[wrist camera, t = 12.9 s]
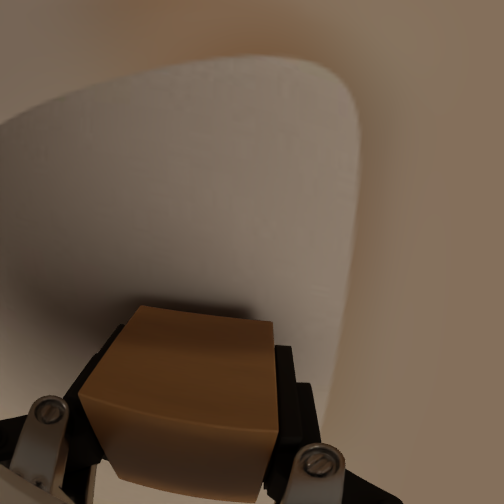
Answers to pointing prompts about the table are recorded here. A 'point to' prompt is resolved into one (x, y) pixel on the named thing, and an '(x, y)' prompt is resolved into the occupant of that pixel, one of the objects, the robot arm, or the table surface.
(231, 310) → the table surface
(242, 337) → the block
